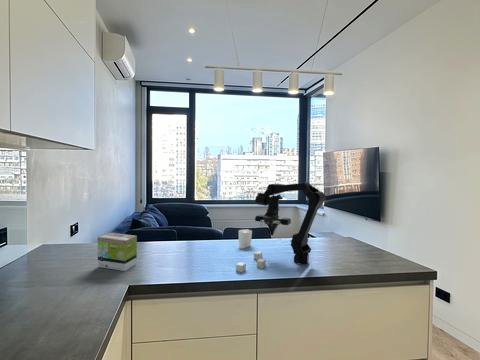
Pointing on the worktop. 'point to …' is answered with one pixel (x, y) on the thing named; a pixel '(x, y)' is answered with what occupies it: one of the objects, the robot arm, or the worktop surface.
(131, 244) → the tea box
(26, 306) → the worktop surface
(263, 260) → the middle slider
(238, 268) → the near slider
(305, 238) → the robot arm
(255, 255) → the block
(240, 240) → the white cup
